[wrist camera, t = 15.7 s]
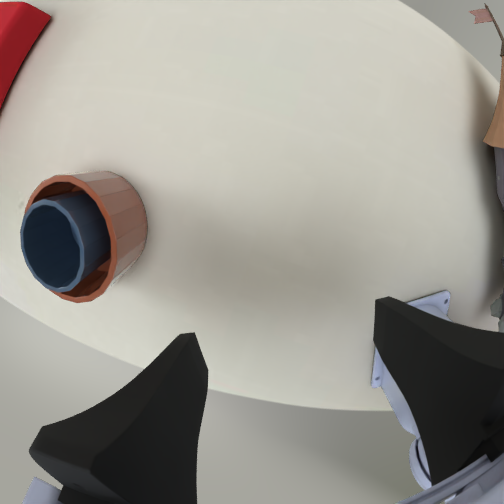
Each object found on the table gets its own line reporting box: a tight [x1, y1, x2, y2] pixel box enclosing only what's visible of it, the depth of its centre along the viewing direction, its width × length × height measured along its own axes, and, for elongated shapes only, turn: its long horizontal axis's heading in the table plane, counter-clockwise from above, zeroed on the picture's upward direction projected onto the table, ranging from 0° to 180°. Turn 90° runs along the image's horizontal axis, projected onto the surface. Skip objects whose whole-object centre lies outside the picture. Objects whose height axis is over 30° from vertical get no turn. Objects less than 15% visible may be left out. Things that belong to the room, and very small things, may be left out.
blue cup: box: [20, 190, 111, 293], centre depth 15 cm, size 5×5×6 cm
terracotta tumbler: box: [24, 171, 147, 303], centre depth 16 cm, size 8×8×5 cm
